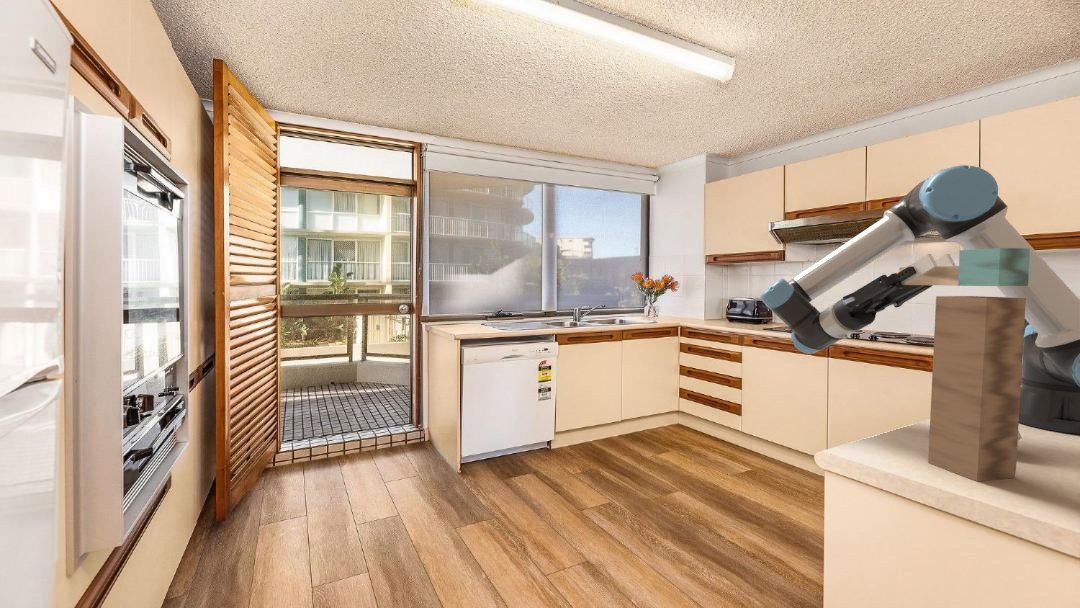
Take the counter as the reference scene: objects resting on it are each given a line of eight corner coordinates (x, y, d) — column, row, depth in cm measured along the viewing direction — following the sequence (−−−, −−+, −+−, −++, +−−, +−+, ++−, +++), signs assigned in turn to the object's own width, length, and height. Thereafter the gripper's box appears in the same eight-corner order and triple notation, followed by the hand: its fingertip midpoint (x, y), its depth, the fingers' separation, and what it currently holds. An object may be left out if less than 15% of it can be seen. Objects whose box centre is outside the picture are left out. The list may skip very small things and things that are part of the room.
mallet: (918, 284, 94) (919, 254, 93) (1028, 285, 76) (1029, 248, 76) (893, 285, 92) (894, 254, 92) (998, 286, 75) (1000, 248, 74)
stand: (964, 459, 87) (972, 296, 85) (1015, 477, 79) (1025, 298, 77) (928, 462, 85) (936, 296, 83) (976, 481, 77) (986, 298, 76)
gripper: (885, 330, 107) (989, 277, 86) (822, 332, 103) (913, 278, 83) (871, 300, 110) (968, 243, 89) (810, 301, 107) (895, 242, 86)
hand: (941, 260), depth 86 cm, fingers closed on mallet, 3 cm apart
